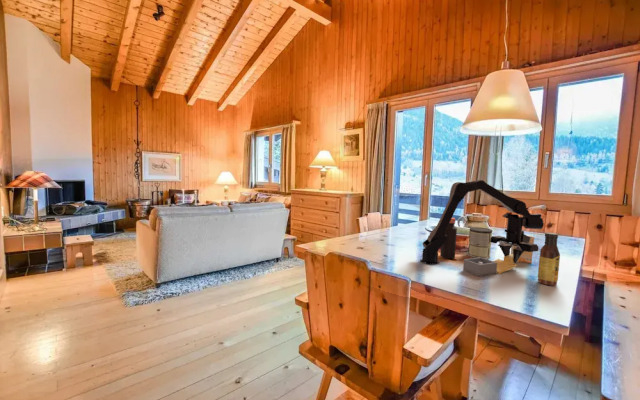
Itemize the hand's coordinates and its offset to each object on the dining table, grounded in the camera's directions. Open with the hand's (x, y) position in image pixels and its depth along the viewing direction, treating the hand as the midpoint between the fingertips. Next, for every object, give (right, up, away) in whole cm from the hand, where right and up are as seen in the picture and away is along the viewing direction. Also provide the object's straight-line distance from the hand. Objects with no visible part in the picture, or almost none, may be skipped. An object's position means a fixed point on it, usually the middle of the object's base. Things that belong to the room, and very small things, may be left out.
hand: (511, 261), depth 135 cm
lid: (-5, -1, -2) cm, 5 cm away
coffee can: (-5, -1, +19) cm, 19 cm away
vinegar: (-23, -1, +15) cm, 27 cm away
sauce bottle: (+2, -5, -18) cm, 19 cm away
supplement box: (+12, -2, +12) cm, 17 cm away
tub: (-18, -3, -7) cm, 20 cm away
